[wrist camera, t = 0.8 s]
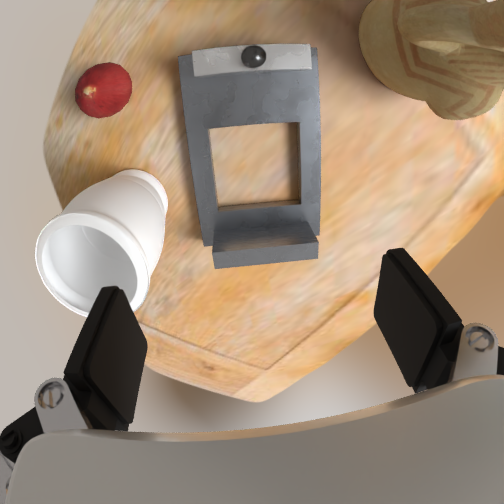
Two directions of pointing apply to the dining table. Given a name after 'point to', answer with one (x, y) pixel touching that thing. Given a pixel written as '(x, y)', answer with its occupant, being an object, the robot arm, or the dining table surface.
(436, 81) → the ceramic vessel
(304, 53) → the door
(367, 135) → the dining table surface
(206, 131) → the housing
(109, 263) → the jar
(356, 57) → the dining table surface
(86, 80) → the onion
